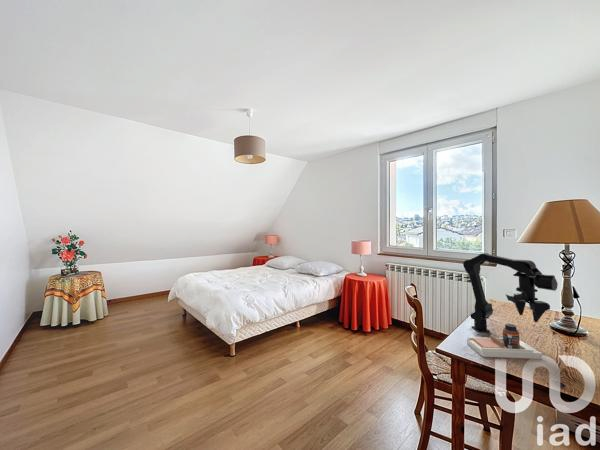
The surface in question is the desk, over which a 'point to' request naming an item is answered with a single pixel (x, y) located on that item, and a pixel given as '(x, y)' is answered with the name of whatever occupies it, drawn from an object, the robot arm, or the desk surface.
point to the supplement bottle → (511, 337)
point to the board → (505, 350)
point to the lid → (490, 342)
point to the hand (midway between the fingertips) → (528, 318)
